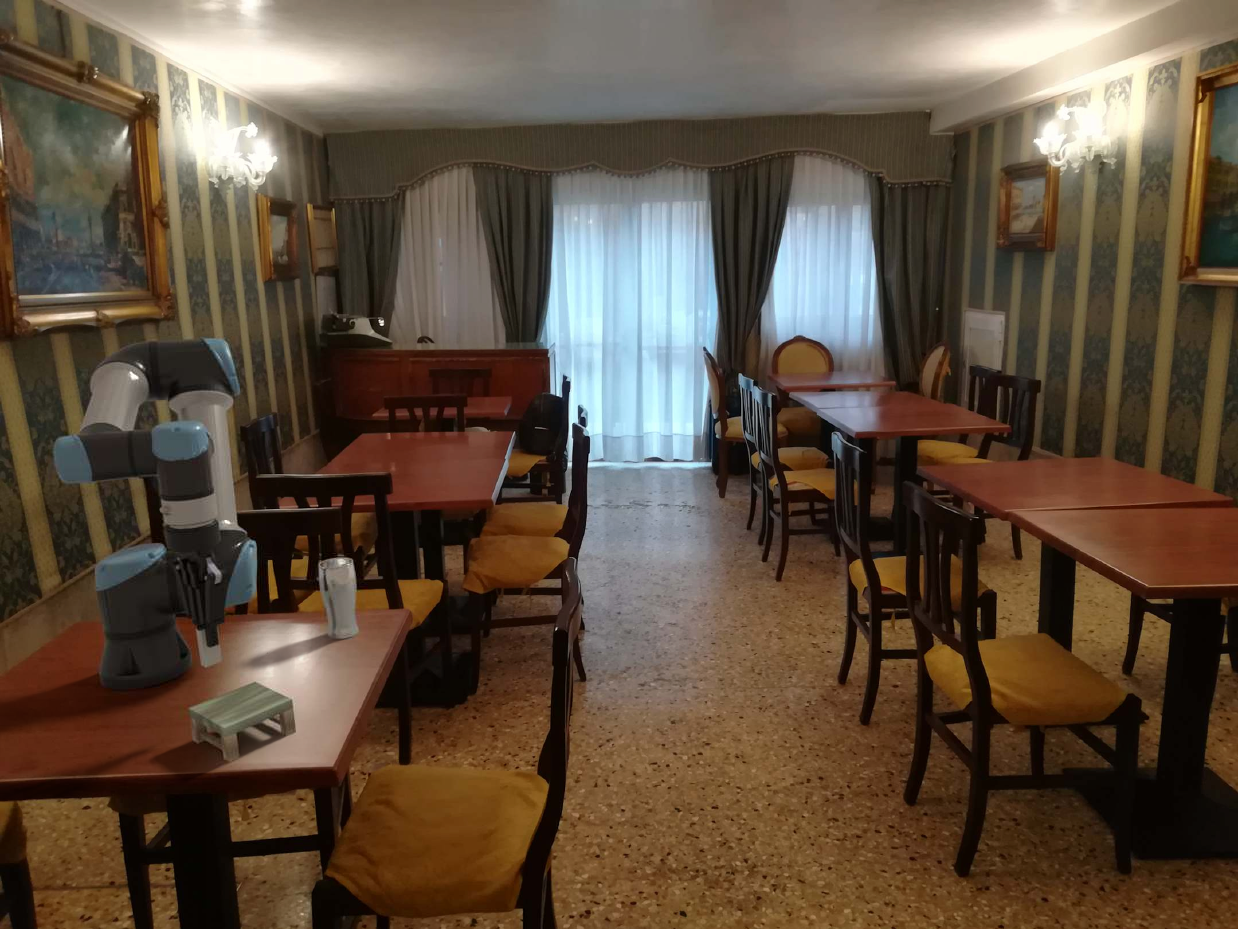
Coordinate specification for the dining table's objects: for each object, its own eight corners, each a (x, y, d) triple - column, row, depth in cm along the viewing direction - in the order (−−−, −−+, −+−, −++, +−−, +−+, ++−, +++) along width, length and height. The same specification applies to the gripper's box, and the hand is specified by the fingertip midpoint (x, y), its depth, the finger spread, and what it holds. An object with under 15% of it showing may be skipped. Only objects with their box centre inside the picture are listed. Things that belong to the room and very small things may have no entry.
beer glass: (341, 643, 174) (333, 570, 171) (317, 636, 178) (309, 564, 175) (368, 630, 180) (361, 560, 177) (345, 624, 184) (338, 555, 180)
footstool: (188, 708, 137) (224, 728, 130) (254, 681, 145) (292, 699, 139) (193, 740, 138) (229, 762, 131) (258, 712, 147) (296, 731, 140)
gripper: (147, 521, 138) (168, 661, 143) (188, 535, 130) (209, 683, 135) (194, 510, 144) (213, 645, 149) (236, 522, 136) (255, 665, 141)
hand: (211, 663), depth 142 cm, fingers closed
